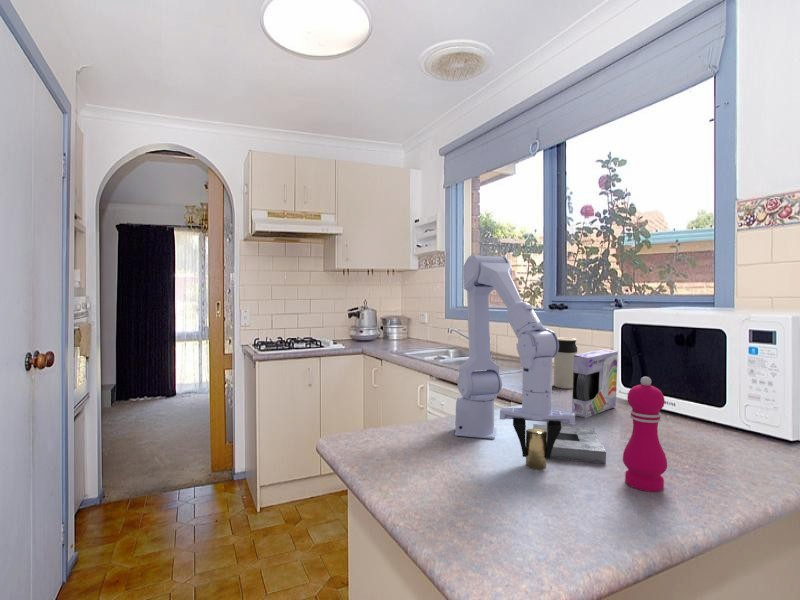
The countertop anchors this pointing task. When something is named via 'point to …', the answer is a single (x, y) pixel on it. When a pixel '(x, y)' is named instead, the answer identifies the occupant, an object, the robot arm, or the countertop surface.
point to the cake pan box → (594, 382)
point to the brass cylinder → (536, 448)
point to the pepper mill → (645, 439)
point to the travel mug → (564, 363)
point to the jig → (577, 445)
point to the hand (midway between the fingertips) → (536, 456)
